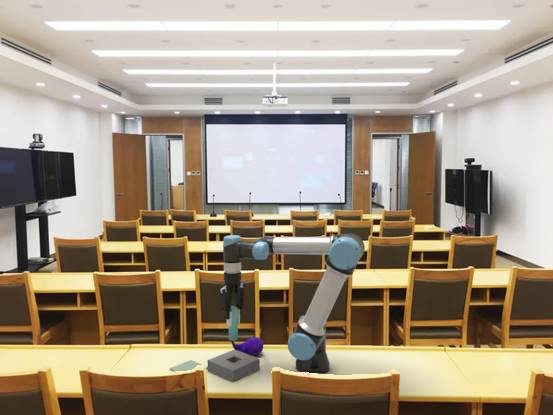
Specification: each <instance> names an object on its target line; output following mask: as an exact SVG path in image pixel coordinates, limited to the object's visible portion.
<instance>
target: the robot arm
mask: <svg viewBox="0 0 553 415" xmlns="http://www.w3.org/2000/svg"><path fill="white" fill-rule="evenodd" d="M222 243H223V244H222V245H223V246H222V248H223V249H222V250H223V271H224V272H223V281H224V285H223V287H222V288H219V293H220V310H221V312H224V315H225V320H226V326H227V327H228V328H229V327H232V312H231V311H230V310H231V306H232V301H233V300H234V306H237V307H238V325H240V324H241V312H242V311H241V310H242V309H243V307H244V306H245V289H246V286H247V285H246V283H242V282H241V281H242V272H241V271H242V259H243V260H244V259H245V260H246V259H247V260H257V261H260V260H264V261H265V260H266V259H268V257H269V255H315V256H316V255H319V256H320V255H322V256H324V255H325V256H326V255H327V258H326V260H325V262H324V263H325V266H326V269H325V271H324V274H323V276H322V278H321V279H320V282H319V285H318V286H317V289H316V291H315V293H314V296H313V297H312V299H311V302H310V304H309V306H308V308H307V311H306V313H305V315H301V316H299V320H298V321H297V324H296V326H295V327H294V331H293V332H292V334H291V335H290V336H289V337H288V341H287V349H288V351H289V353H290V355H291V356H292V357H294V358H295V362H294V363H295V370H296V371H297V372H299V371H300V372H299V373H301V372H309V373H323V374H325V373H327V372H329V371H330V368H331V367H330V361H329V358H328V353H327V350H326V349H327V348H326V346H327V342H326V341H327V332H326V331H327V320H328V319H329V316H330V314H331V311H332V310H333V308H334V306H335V303H336V301H337V299H338V297H339V295H340V293H341V290H342V288H343V286H344V283H345V282H346V280H347V278H349V277H352V275H353V274H354V272H355V269H356V267H357V265H358V263H359V261H360V259H361V258H362V257H363V255H364V254H365V247H366V246H365V242H364V241H363V239H362V238H361V236H359V235H357V234H354V233H343V234H341V233H340V234H332V235H331V236H270V235H264V236H261V237H260V238H258V239H254V240H252V241H251V240H249V241H248V240H242V237H241V236H240V235H237V234H235V235H234V234H230V235H226V236H224V237H223V242H222Z"/></svg>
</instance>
